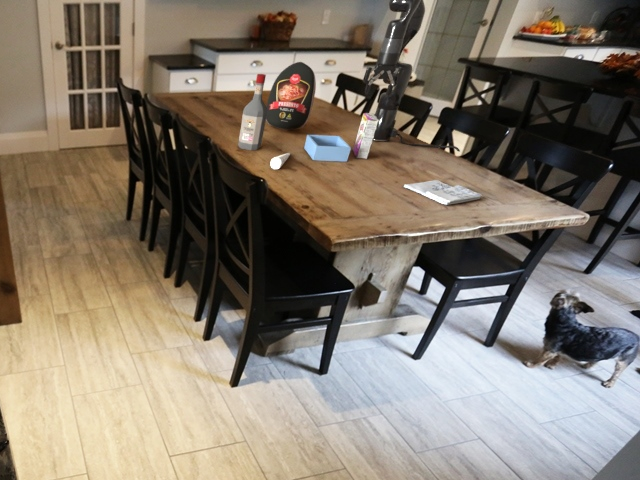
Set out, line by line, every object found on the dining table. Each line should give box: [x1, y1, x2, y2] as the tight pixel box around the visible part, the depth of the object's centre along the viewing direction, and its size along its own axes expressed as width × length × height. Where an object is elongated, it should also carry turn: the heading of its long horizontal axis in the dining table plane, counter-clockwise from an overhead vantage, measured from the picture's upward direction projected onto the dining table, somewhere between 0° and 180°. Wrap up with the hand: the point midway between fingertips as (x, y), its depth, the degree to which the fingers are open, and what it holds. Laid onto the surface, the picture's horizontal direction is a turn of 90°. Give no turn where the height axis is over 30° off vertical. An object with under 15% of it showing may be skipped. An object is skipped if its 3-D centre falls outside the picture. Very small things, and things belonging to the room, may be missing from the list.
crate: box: [303, 134, 352, 163], centre depth 220 cm, size 15×18×6 cm
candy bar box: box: [352, 112, 379, 160], centre depth 218 cm, size 11×5×16 cm, turn 168°
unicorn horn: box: [269, 152, 291, 171], centre depth 211 cm, size 5×24×5 cm, turn 147°
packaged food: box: [265, 61, 317, 131], centre depth 246 cm, size 22×20×30 cm
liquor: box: [237, 73, 267, 151], centre depth 219 cm, size 9×9×30 cm
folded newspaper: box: [403, 179, 484, 206], centre depth 187 cm, size 19×20×2 cm
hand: (376, 95), depth 208 cm, fingers open, 8 cm apart
